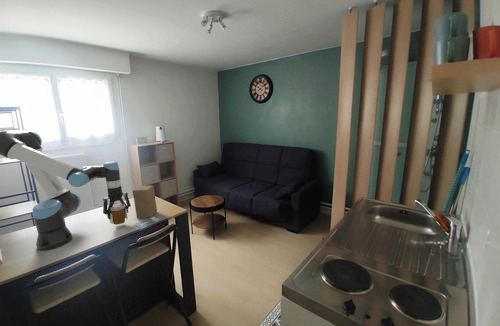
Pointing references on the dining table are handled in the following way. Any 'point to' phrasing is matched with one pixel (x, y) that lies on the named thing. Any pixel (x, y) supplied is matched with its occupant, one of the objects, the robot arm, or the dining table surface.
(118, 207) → the disposable coffee cup
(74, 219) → the dining table surface
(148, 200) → the wooden block
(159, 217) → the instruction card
